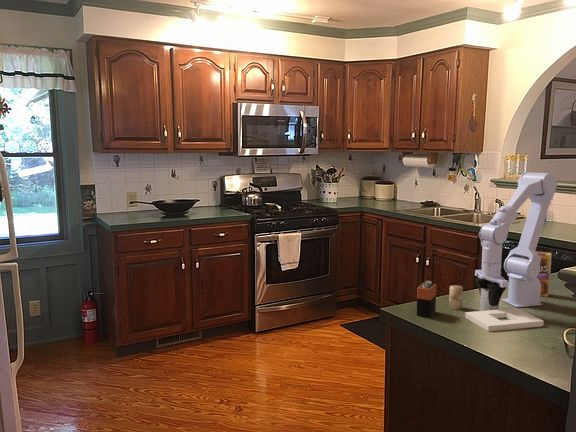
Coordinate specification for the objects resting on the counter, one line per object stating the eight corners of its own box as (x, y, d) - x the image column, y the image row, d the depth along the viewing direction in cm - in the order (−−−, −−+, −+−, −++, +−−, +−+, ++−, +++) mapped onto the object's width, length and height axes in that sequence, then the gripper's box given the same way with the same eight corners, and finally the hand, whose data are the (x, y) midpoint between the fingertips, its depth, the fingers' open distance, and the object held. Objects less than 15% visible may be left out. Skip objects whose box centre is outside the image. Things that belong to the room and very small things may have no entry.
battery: (435, 311, 158) (436, 281, 156) (429, 318, 152) (430, 286, 151) (422, 309, 160) (423, 279, 159) (415, 315, 154) (416, 284, 153)
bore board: (516, 312, 156) (516, 307, 156) (543, 326, 144) (543, 320, 144) (465, 317, 152) (465, 312, 152) (488, 331, 141) (488, 326, 140)
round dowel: (457, 305, 164) (458, 284, 163) (464, 309, 160) (465, 288, 159) (446, 306, 163) (447, 285, 162) (453, 310, 159) (453, 289, 158)
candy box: (519, 293, 176) (522, 251, 174) (521, 290, 179) (524, 249, 177) (547, 297, 171) (550, 254, 169) (549, 294, 175) (551, 252, 172)
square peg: (491, 308, 161) (492, 287, 160) (498, 312, 157) (499, 290, 156) (479, 309, 160) (480, 288, 159) (487, 313, 156) (488, 291, 155)
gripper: (467, 257, 162) (465, 297, 164) (494, 268, 148) (492, 311, 150) (486, 256, 164) (484, 295, 166) (514, 266, 150) (512, 309, 152)
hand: (489, 303), depth 158 cm, fingers open, 5 cm apart
